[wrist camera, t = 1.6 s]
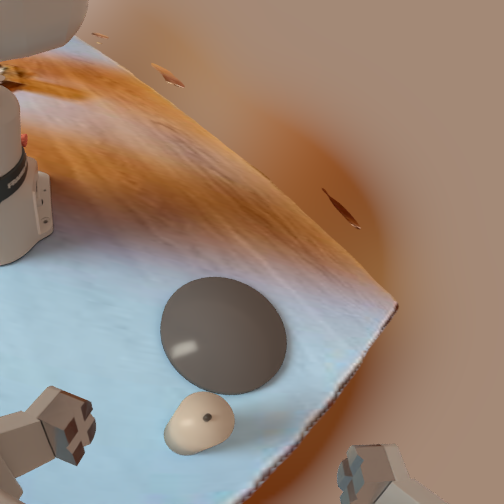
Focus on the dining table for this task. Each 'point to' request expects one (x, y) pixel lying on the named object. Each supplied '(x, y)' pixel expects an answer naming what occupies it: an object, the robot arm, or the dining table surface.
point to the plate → (223, 335)
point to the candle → (199, 424)
